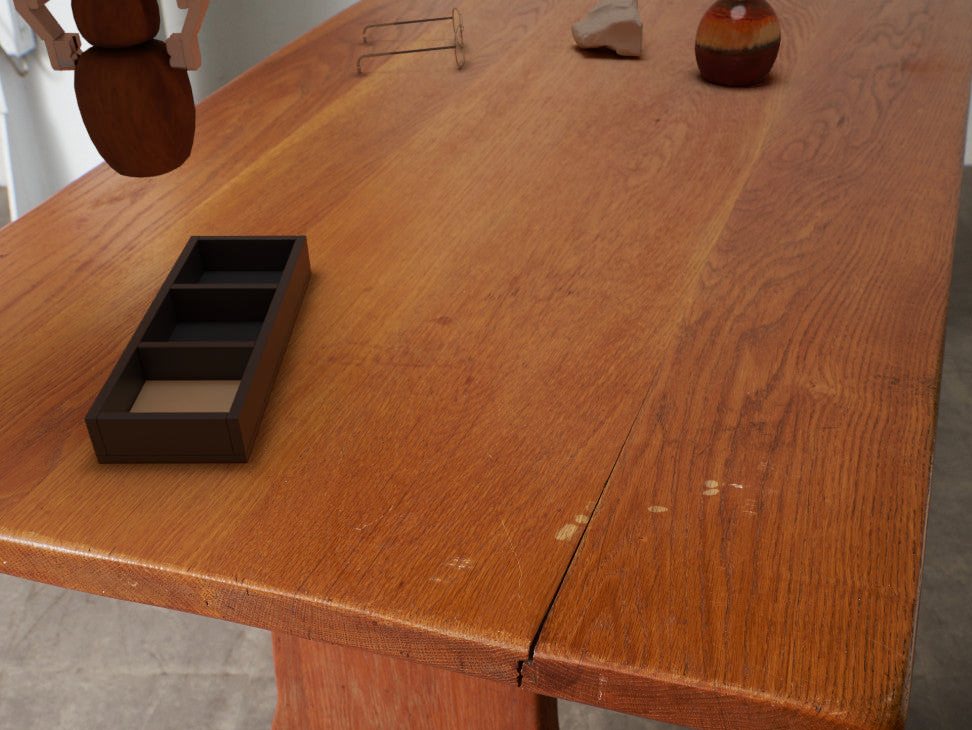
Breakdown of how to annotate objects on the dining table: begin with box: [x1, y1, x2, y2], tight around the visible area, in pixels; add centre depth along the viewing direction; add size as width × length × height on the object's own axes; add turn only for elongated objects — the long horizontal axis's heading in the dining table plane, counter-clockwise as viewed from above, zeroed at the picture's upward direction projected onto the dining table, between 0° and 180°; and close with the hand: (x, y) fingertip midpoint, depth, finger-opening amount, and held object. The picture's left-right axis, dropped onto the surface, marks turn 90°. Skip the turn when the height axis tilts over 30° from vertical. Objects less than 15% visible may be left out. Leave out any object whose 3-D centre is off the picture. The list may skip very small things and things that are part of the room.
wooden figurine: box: [70, 0, 197, 179], centre depth 60 cm, size 7×6×15 cm
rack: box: [83, 234, 312, 464], centre depth 78 cm, size 10×29×4 cm, turn 0°
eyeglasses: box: [356, 7, 465, 74], centre depth 143 cm, size 16×15×5 cm
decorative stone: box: [571, 0, 644, 57], centre depth 144 cm, size 11×9×10 cm
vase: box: [694, 0, 782, 87], centre depth 131 cm, size 11×11×15 cm
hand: (129, 68), depth 61 cm, fingers closed on wooden figurine, 6 cm apart
